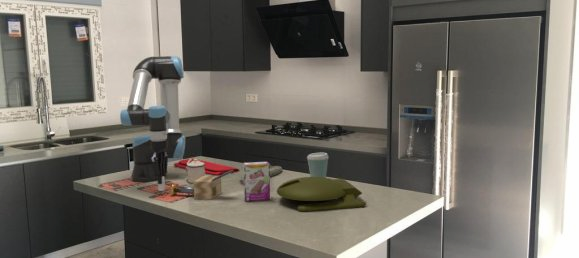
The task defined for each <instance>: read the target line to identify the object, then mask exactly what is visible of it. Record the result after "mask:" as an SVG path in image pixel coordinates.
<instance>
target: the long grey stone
mask: <svg viewBox="0 0 579 258" xmlns="http://www.w3.org/2000/svg"><path fill="white" fill-rule="evenodd" d="M282 170H283V168H282V166H280V165H271V164H270V178H271V177H275V176H276V175H280V173H281V172H282ZM238 181H239V182H238V183H240V185H243V186H244V176H242V177H240V179H239V180H238Z"/></svg>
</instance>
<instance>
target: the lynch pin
mask: <svg viewBox="0 0 579 258" xmlns="http://www.w3.org/2000/svg"><path fill="white" fill-rule="evenodd" d="M169 193H170V195H171V196H176V195H177V194H178V193H179V194H194V186H178V184H177V183H171V185H170V187H169Z"/></svg>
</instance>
